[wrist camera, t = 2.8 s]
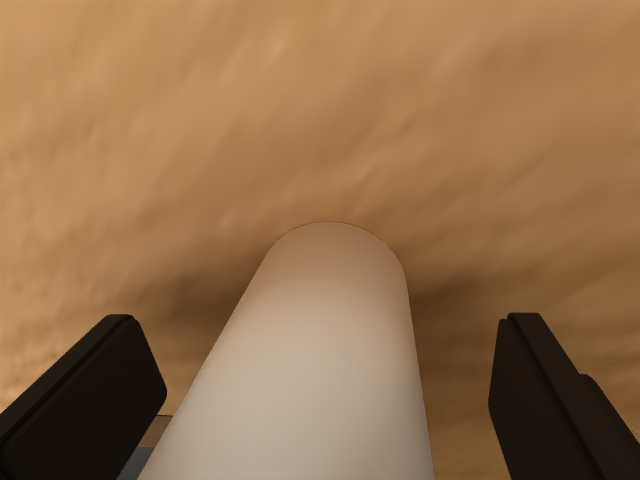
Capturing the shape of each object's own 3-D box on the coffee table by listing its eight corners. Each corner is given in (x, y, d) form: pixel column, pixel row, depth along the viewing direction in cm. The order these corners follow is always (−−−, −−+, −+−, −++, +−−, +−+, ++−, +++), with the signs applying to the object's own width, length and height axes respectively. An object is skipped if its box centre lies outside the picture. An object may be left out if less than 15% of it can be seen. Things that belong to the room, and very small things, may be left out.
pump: (405, 217, 10) (472, 540, 3) (407, 380, 13) (445, 739, 6) (246, 225, 11) (32, 495, 4) (280, 377, 14) (186, 688, 7)
